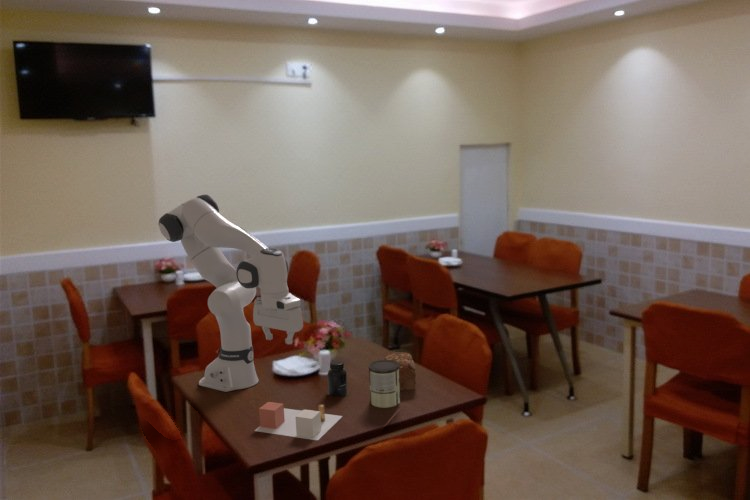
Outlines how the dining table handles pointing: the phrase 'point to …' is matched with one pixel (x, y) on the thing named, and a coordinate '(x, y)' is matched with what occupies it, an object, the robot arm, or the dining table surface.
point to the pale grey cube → (308, 423)
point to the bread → (404, 370)
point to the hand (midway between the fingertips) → (279, 341)
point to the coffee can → (384, 383)
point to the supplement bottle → (337, 379)
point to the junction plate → (290, 425)
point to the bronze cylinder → (322, 412)
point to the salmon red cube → (271, 415)
